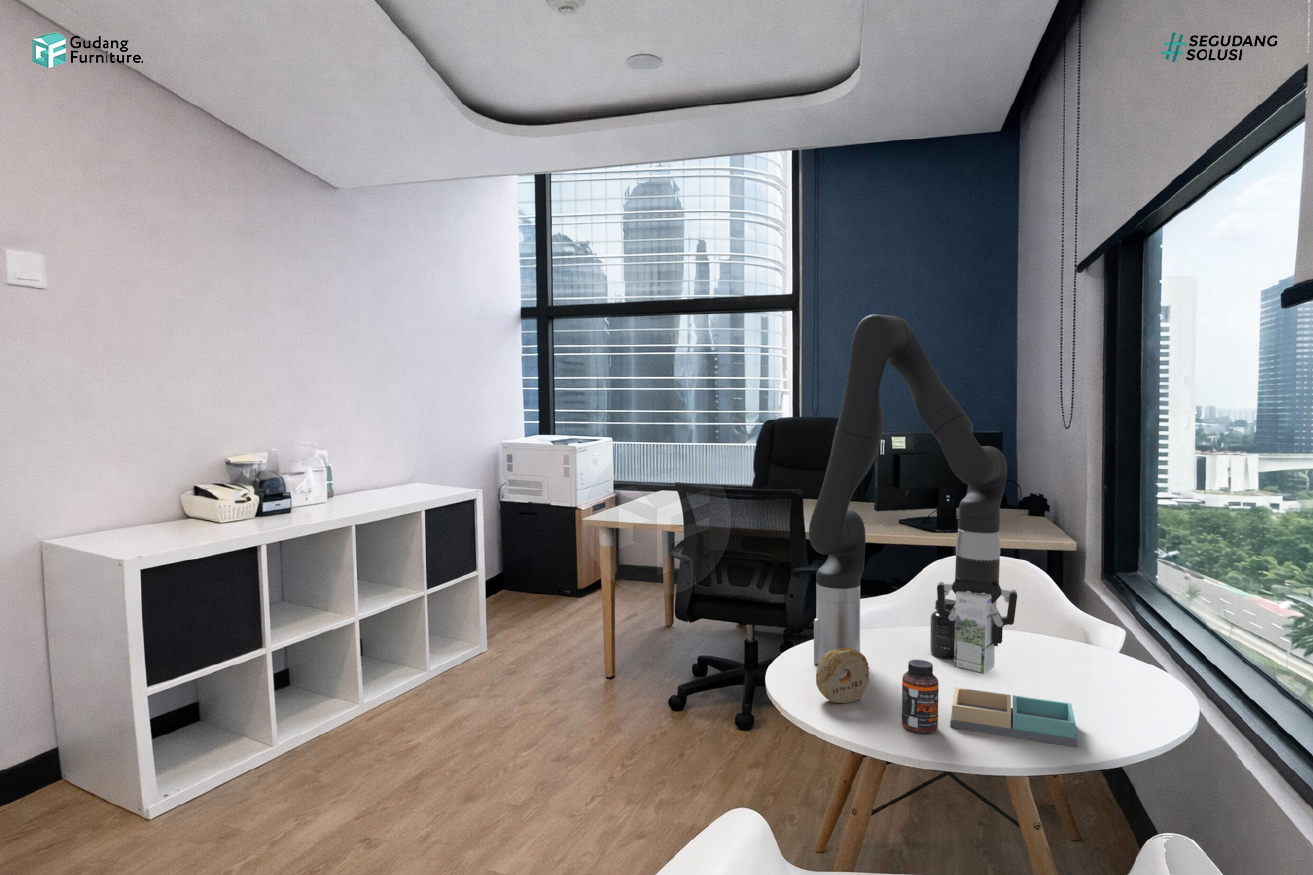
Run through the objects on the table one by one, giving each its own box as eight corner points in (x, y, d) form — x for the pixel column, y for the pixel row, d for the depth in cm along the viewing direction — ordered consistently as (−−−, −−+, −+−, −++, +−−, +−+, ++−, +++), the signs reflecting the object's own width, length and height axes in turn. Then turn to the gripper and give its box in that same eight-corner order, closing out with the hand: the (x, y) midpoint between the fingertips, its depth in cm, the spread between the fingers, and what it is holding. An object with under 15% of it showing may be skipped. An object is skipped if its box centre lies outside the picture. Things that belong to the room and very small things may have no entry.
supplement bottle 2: (969, 658, 166) (970, 604, 166) (942, 660, 165) (942, 606, 164) (950, 648, 173) (951, 596, 172) (924, 651, 171) (924, 598, 171)
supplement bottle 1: (918, 737, 127) (918, 670, 126) (894, 724, 132) (894, 660, 132) (945, 731, 129) (946, 665, 128) (920, 718, 134) (921, 655, 134)
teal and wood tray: (950, 726, 131) (950, 705, 130) (954, 706, 140) (954, 686, 139) (1077, 747, 122) (1077, 724, 122) (1072, 723, 131) (1072, 702, 131)
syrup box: (995, 667, 142) (998, 590, 141) (983, 675, 137) (986, 596, 137) (964, 659, 146) (966, 585, 145) (952, 667, 141) (955, 591, 140)
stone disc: (861, 694, 146) (861, 642, 146) (871, 701, 142) (871, 648, 142) (812, 700, 143) (812, 647, 143) (821, 707, 140) (821, 654, 139)
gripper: (934, 554, 140) (932, 642, 141) (1021, 561, 134) (1017, 654, 135) (938, 546, 147) (935, 631, 148) (1020, 553, 141) (1017, 641, 142)
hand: (974, 641), depth 141 cm, fingers closed on syrup box, 6 cm apart
